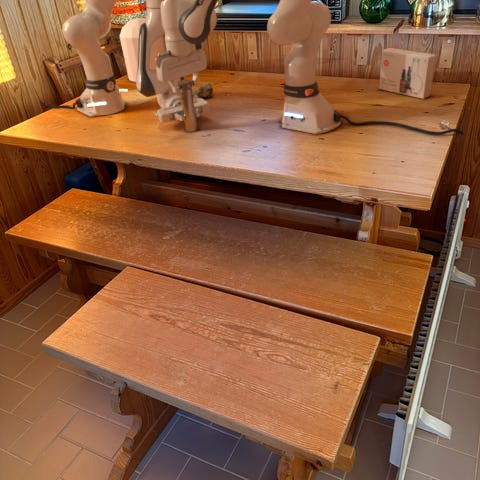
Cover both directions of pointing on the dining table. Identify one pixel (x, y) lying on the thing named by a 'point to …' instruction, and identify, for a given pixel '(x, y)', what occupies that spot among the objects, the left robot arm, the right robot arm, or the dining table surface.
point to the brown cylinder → (188, 109)
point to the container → (130, 47)
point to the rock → (203, 90)
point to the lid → (184, 84)
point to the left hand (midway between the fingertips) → (190, 116)
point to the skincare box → (407, 72)
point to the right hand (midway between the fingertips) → (185, 88)
